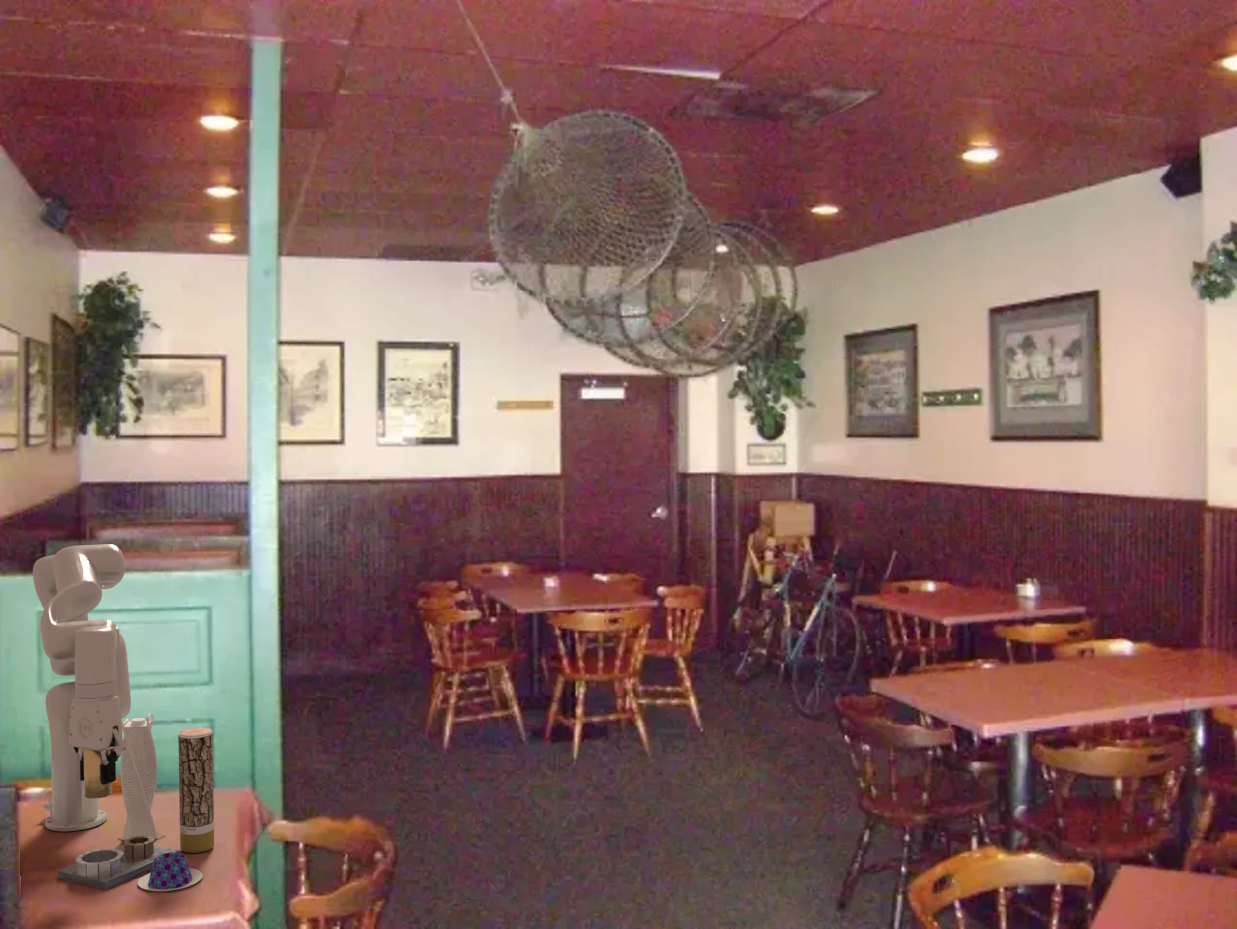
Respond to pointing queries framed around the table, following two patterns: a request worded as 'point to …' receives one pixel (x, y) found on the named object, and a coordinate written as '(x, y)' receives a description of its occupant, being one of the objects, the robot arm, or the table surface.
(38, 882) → the table surface
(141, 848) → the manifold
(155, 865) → the pudding
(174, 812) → the table surface
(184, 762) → the paper tube
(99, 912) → the table surface
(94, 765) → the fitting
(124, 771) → the skyscraper
